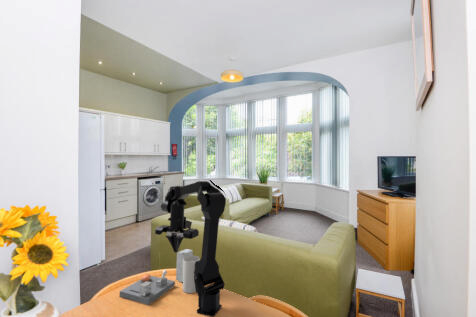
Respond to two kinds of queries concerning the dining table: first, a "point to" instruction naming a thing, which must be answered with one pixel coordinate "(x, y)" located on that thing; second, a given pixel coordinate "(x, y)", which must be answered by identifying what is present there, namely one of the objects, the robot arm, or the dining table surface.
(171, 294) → the dining table surface
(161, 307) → the dining table surface
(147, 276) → the push button
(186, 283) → the mug
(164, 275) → the toggle lever
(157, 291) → the control panel
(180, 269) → the skincare box
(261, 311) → the dining table surface
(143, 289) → the block
